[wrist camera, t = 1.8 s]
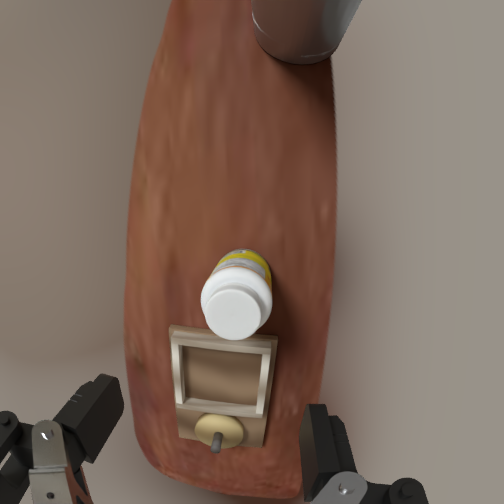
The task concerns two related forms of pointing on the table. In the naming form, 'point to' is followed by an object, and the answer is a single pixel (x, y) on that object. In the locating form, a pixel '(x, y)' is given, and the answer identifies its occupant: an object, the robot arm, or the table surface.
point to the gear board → (221, 386)
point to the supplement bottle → (238, 295)
